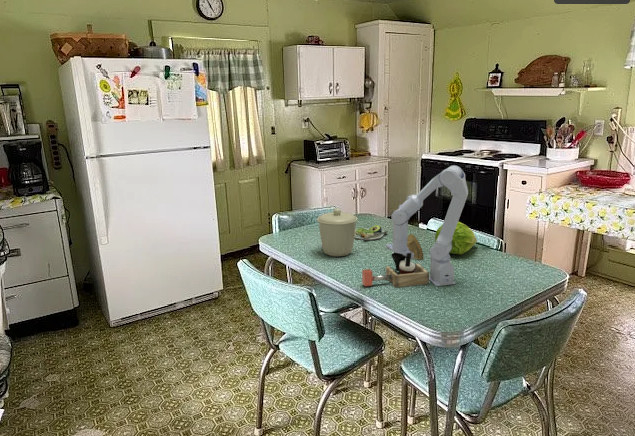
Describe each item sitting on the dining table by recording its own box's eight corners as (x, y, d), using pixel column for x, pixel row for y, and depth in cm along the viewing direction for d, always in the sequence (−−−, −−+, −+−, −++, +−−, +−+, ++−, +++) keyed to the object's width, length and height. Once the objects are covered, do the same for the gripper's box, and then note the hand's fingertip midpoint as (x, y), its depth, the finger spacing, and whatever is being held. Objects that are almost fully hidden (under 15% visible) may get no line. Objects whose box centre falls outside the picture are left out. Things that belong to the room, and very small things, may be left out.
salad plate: (380, 244, 222) (380, 235, 221) (345, 241, 228) (345, 232, 227) (389, 233, 239) (389, 224, 238) (356, 230, 246) (356, 222, 244)
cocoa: (402, 270, 186) (403, 243, 183) (417, 273, 183) (419, 245, 180) (394, 279, 178) (395, 250, 175) (410, 282, 175) (411, 253, 172)
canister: (336, 262, 198) (335, 215, 192) (309, 252, 211) (308, 208, 206) (365, 253, 209) (365, 208, 203) (339, 244, 222) (338, 201, 217)
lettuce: (456, 250, 221) (484, 262, 209) (423, 245, 206) (450, 257, 194) (466, 221, 219) (495, 231, 206) (433, 213, 204) (462, 224, 191)
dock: (428, 283, 174) (429, 272, 173) (395, 287, 171) (395, 276, 170) (417, 273, 183) (417, 263, 182) (385, 277, 181) (386, 266, 180)
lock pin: (391, 283, 174) (392, 269, 172) (364, 286, 171) (364, 272, 170) (389, 280, 176) (389, 267, 175) (362, 283, 174) (362, 269, 173)
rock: (430, 254, 199) (420, 244, 208) (421, 241, 195) (411, 231, 204) (411, 269, 199) (401, 259, 208) (401, 257, 195) (392, 247, 204)
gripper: (420, 241, 177) (418, 274, 180) (395, 232, 189) (394, 263, 192) (406, 244, 173) (405, 277, 177) (382, 235, 185) (381, 266, 189)
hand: (398, 270), depth 184 cm, fingers closed
